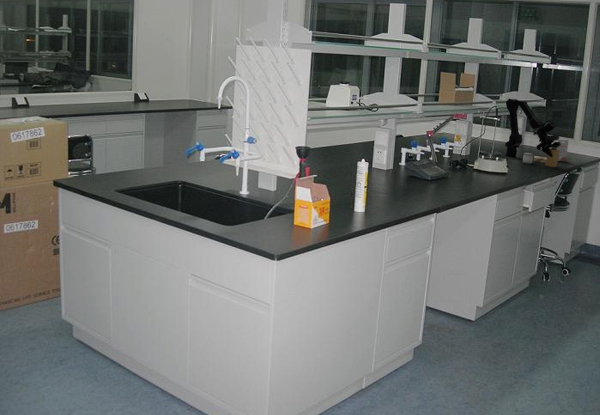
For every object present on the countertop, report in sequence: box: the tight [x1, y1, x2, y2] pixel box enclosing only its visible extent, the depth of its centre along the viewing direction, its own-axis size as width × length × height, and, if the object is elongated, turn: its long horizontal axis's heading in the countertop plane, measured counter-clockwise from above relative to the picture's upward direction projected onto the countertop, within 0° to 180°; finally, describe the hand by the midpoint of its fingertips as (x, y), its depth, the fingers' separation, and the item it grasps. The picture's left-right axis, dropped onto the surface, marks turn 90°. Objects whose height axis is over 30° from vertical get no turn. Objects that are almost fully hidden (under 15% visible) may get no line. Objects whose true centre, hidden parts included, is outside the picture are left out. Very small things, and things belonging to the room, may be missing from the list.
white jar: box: [522, 152, 535, 164], centre depth 460 cm, size 6×6×6 cm
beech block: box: [532, 155, 547, 164], centre depth 470 cm, size 9×9×3 cm
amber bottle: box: [544, 147, 560, 168], centre depth 454 cm, size 5×5×12 cm
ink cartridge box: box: [557, 139, 569, 162], centre depth 480 cm, size 9×5×15 cm, turn 105°
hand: (554, 156), depth 452 cm, fingers closed on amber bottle, 5 cm apart
